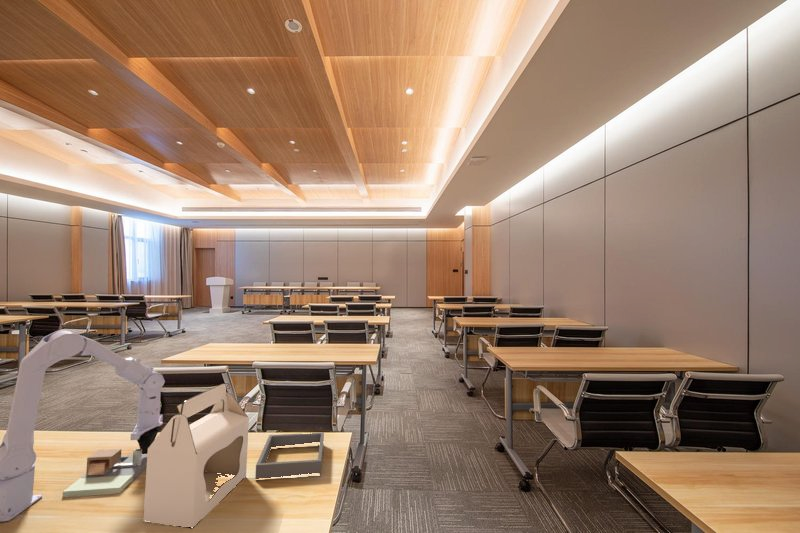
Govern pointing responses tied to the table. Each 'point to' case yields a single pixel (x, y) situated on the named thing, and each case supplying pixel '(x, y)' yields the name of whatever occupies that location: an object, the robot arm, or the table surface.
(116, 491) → the track
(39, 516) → the table surface
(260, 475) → the tray
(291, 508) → the table surface
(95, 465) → the sled
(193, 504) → the gable box
